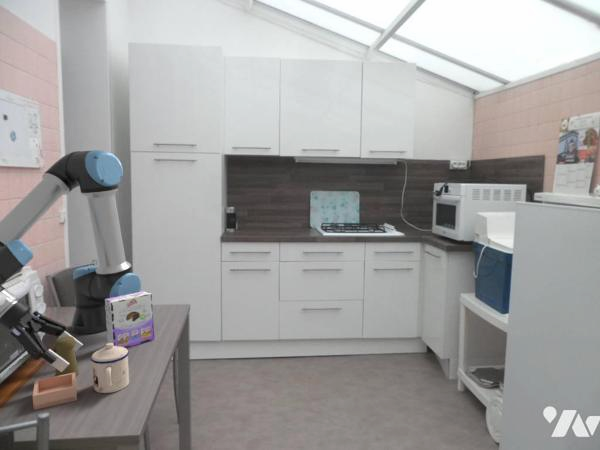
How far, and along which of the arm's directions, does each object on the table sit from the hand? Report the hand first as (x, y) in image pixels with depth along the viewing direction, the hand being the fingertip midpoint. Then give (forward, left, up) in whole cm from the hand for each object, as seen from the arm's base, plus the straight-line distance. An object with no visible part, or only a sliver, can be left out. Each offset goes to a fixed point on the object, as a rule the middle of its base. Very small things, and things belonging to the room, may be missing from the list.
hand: (73, 357), depth 120 cm
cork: (-1, -2, -5) cm, 6 cm away
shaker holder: (+11, -4, -5) cm, 13 cm away
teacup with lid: (+14, +9, -5) cm, 17 cm away
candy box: (-17, +17, -5) cm, 25 cm away
